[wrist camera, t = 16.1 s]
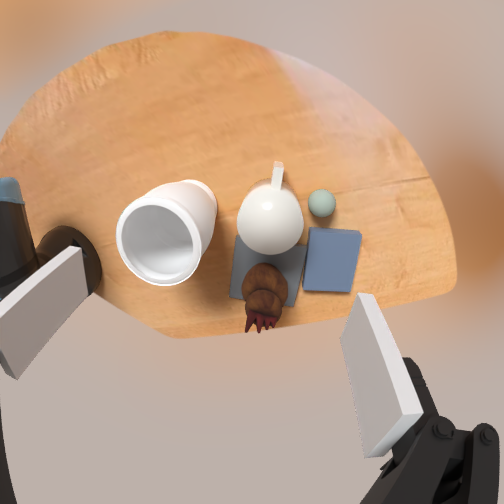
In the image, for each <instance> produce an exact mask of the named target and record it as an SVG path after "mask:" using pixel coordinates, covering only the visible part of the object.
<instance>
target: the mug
mask: <svg viewBox="0 0 504 504" xmlns="http://www.w3.org/2000/svg"><path fill="white" fill-rule="evenodd" d="M283 171H284V166H283V162H277V161H274V164H273V171H272V177H271V178H267V179H263V180H260V181H258V182H256V183H255V184H254V185H252V186H251V187H250V189H249V190H248V192H247V194H246V196H245V198H244V201H243V203H242V206H241V208H240V210H239V213H238V217H237V229H238V233H239V235H240V237H241V239H242V240H243V242H244V243H245V244H246V245H247V246H248V247H249V248H251V249H252V250H254V251H256V252H258V253H261V254H267V255H274V254H280V253H283V252H285V251H287V250H289V249H290V248H292V247H293V246H294V245H295V244H296V243H297V242H298V240H299V238H300V237H301V234H302V231H303V226H304V221H303V216H302V212H301V209H300V205H299V202H298V199H297V195H296V193H295V191H294V190H293V188H292V187H291V186H290V185H289V184H287V183H286V182H284V181H282V177H283Z"/></svg>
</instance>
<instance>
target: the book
mask: <svg viewBox="0 0 504 504" xmlns="http://www.w3.org/2000/svg"><path fill="white" fill-rule="evenodd" d="M361 239H362V234H361V233H360V232H359V231H356V230H344V229H332V228H319V227H309V232H308V241H307V252H306V257H305V265H304V273H303V280H302V287H303V290H316V291H339V292H350V291H351V288H352V283H353V279H354V274H355V269H356V265H357V260H358V255H359V249H360V244H361Z"/></svg>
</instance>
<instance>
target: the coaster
mask: <svg viewBox="0 0 504 504" xmlns="http://www.w3.org/2000/svg"><path fill="white" fill-rule="evenodd" d="M306 252H307V245H302V244H295V245H294V246H293V247H292V248H290V249H289V250H287V251H285V252H283V253H280V254H274V255H267V254H261V253H258V252H256V251H254V250H252V249H251V248H249V247H248V246H247V245H246V244H245V243H244V242H243V240H242V239H241V237H240V235H236V241H235V249H234V258H233V266H232V275H231V284H230V293H229V297H231V298H237V299H243V296H242V291H241V286H242V283H243V280H244V277H245V275H246V274H247V272H248V271H249V270H250V269H251V268H252V267H253V266H254V265H256V264H258V263H264V262H265V263H269V264H272V265H273V266H275V267H276V268H277V269H278V270H279V271H280V272H281V273H282V275H283V276H284V277H285V279H286V280H287V282H288V298H287V300H286V302H285V304H284V306H292V307H293V306H294V302H295V298H296V294H297V290H298V286H299V282H300V278H301V274H302V269H303V265H304V261H305V257H306Z"/></svg>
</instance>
